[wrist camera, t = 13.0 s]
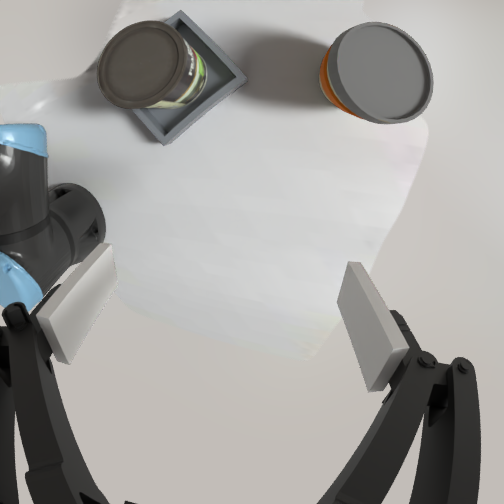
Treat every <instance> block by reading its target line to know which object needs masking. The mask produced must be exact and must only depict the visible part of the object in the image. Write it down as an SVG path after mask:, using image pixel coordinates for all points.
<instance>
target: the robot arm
mask: <svg viewBox="0 0 504 504" xmlns="http://www.w3.org/2000/svg"><path fill="white" fill-rule="evenodd" d="M47 158H48V154H47V139H46V131H45V129H44V127H43V126H41V125H40V124H4V125H0V305H2V306H3V307H4V308H5V309H4V310H3V312H2V317H3V319H4V321H5V323H6V325H7V326H2V327H1V326H0V504H19V499H18V489H17V480H16V469H15V448H14V424H15V411H16V416H17V422H18V427H19V431H20V436H21V440H22V444H23V448H24V452H25V455H26V459H27V462H28V465H29V471H28V472H26V473H25V479H26V484H27V486H28V489H29V492H30V495H31V497H32V500H33V503H34V504H109V502H108V501H107V499H106V498H105V496H104V495H103V494H102V492H101V491H100V490H99V489H98V487H97V486H96V484H95V482H94V480H93V478H92V476H91V474H90V472H89V470H88V468H87V466H86V463H85V461H84V459H83V457H82V454H81V452H80V450H79V447H78V445H77V443H76V440H75V437H74V435H73V432H72V430H71V427H70V424H69V421H68V418H67V415H66V412H65V409H64V406H63V403H62V399H61V396H60V392H59V389H58V385H57V382H56V378H55V374H54V370H53V365H52V362H51V360H50V356H51V354H52V353H53V354H54V356H55V358H56V360H57V361H58V362H62V363H65V364H68V365H70V364H71V362H72V360H73V358H74V356H75V355H76V353H77V351H78V349H79V348H80V346H81V344H82V343H83V341H84V339H85V337H86V336H87V334H88V332H89V331H90V329H91V327H92V326H93V324H94V322H95V321H96V319H97V317H98V316H99V314H100V313H101V311H102V310H103V308H104V306H105V305H106V303H107V302H108V300H109V299H110V297H111V295H112V294H113V292H114V291H115V289H116V288H117V286H118V279H117V274H116V268H115V262H114V256H113V250H112V244H108V243H103V241H104V238H105V232H106V225H105V218H104V215H103V212H102V209H101V207H100V205H99V203H98V202H97V200H96V199H95V198H94V196H93V195H92V194H91V193H90V192H89V191H87V190H86V189H85V188H83V187H81V186H79V185H76V184H63V185H60V186H58V187H56V188H54V189H53V190H51V191H50V192H49V193H48V175H47ZM80 262H82V263H81V264H80V265H79V266H78V267H77V268H76V269H75V270H74V271H73V272H72V273H71V275H70V276H69V277H68V278H67V279H66V280H65V281H64V282H63V283H62V284H58V285H57V286H55V287H54V288H53V289H51V290H50V288H51V287H52V286H53V285H54V284H55V282H56V281H57V280H58V279H59V278H60V276H62V274H63V273H64V272H65V271H66V270H67V269H68V268H69V267H70V266H72V265H74V264H77V263H80ZM49 290H50V291H49ZM48 291H49V292H48ZM47 292H48V294H47V295H46V293H47ZM45 295H46V296H45ZM44 296H45V297H44ZM43 297H44V298H43ZM42 298H43V299H42ZM41 300H42V301H41ZM40 301H41V302H40ZM38 302H40V303H39V304H38V305H37V306H36V308H35V309H34V310H33V311H32V313H31V314H30V315H29V313H28V311H30V310H31V309H32V308H33V307H34V306H35V305H36V304H37V303H38ZM337 304H338V307H339V309H340V312H341V315H342V317H343V320H344V323H345V325H346V328H347V331H348V334H349V337H350V339H351V342H352V345H353V348H354V351H355V354H356V356H357V359H358V362H359V365H360V368H361V371H362V374H363V378H364V380H365V384H366V387H367V390H368V392H376V391H383V390H384V389H385V387H386V386H387V384H388V383H389V384H390V387H391V390H390V392H389V393H388V395H387V396H386V397H385V399H384V400H383V402H382V403H383V405H382V407H381V408H380V410H379V412H378V414H377V416H376V418H375V419H374V421H373V423H372V425H371V426H370V428H369V430H368V432H367V433H366V435H365V437H364V438H363V440H362V441H361V443H360V445H359V446H358V448H357V449H356V451H355V452H354V454H353V455H352V457H351V458H350V460H349V461H348V463H347V464H346V466H345V467H344V469H343V470H342V472H341V473H340V474H339V476H338V477H337V479H336V480H335V481H334V483H333V484H332V485H331V486H330V488H329V489H328V490H327V492H326V493H325V495H323V497H322V498H321V499H320V500H319V502H318V503H317V504H381V503H382V501H383V500H384V498H385V496H386V494H387V493H388V491H389V489H390V487H391V485H392V483H393V482H394V480H395V478H396V476H397V474H398V472H399V470H400V468H401V466H402V464H403V462H404V460H405V458H406V456H407V454H408V451H409V449H410V447H411V445H412V442H413V440H414V437H415V435H416V432H417V430H418V428H419V425H420V422H421V420H422V417H423V414H424V420H423V430H422V438H421V447H420V453H419V459H418V465H417V471H416V476H415V481H414V485H413V490H412V494H411V498H410V502H409V504H477V500H478V490H479V480H480V463H481V431H480V411H479V400H478V390H477V382H476V374H475V370H474V366H473V365H472V363H471V362H470V361H468V360H467V359H465V358H463V357H457V358H455V359H454V360H453V362H452V363H451V364H450V365H448V364H442V363H438V362H437V360H436V358H435V357H434V356H433V355H432V354H430V353H429V352H426V351H422V350H421V348H420V346H419V344H418V343H417V341H416V339H415V337H414V335H413V334H412V332H411V331H410V329H409V327H408V325H407V323H406V322H405V320H404V318H403V317H402V316H401V315H400V314H399V313H398V312H397V311H396V310H389V309H388V308H387V306H386V304H385V302H384V300H383V299H382V297H381V296H380V294H379V292H378V290H377V289H376V287H375V285H374V284H373V282H372V281H371V279H370V277H369V275H368V274H367V272H366V270H365V269H364V267H363V266H362V264H361V262H348V264H347V268H346V271H345V275H344V279H343V282H342V286H341V289H340V293H339V296H338V300H337ZM124 504H135V503H132V502H128V501H125V503H124Z"/></svg>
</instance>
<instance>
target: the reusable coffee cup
mask: <svg viewBox="0 0 504 504" xmlns="http://www.w3.org/2000/svg"><path fill="white" fill-rule="evenodd" d="M319 84H320V87H321V90H322V92H323V94H324V95H325V97H326V98H327V99H328V100H329V101H330V102H331V103H333V104H334V105H336V106H337V107H338V108H339V109H341V110H343V111H344V112H347V113H349V114H351V115H354V116H356V117H358V118H361V119H365V120H367V121H369V122H373V123H377V124H396V123H403V122H408V121H410V120H413V119H415V118H416V117H418V116H419V115H420V114H421V113H422V112H423V111H424V110H425V109H426V108H427V106H428V104H429V102H430V100H431V96H432V93H433V73H432V70H431V66H430V63H429V61H428V58H427V56H426V54H425V53H424V51H423V50H422V48H421V47H420V46H419V44H418V43H417V42H416V41H415V40H414V39H413V38H412V37H410V35H408V34H407V33H406V32H404V31H403V30H401V29H399V28H397V27H395V26H393V25H390V24H387V23H381V22H367V23H363V24H360V25H357V26H355V27H352V28H350V29H348V30H346V31H345V32H343V33H342V34H341V35H340V36H338V37H337V38H336V40H335V41H334V43H333V44H332V45H331V47H330V48H329V50H328V51H327V53H326V55H325V57H324V58H323V61H322V64H321V66H320V73H319Z"/></svg>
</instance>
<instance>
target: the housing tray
mask: <svg viewBox="0 0 504 504" xmlns="http://www.w3.org/2000/svg"><path fill="white" fill-rule="evenodd" d="M164 23H166V24H168V25H170V26H172V27H173V28H174V29H176V30H177V31H178V32H179V33H180V35H181V36H182V38H183V39H184V40H185V41H186V42H187V43H188V44H189V45H190V46H191V47H192V48H193V49H194V50H195V51H196V52H197V53H198V54H199V55H200V56H201V57H202V58H203V60H204V61H205V63H206V67H207V82H206V85H205V87H204V89H203V91H202V92H201V94H200V95H199V96H198V97H197V98H196V99H195V100H194V101H193V102H191V103H190V104H188V105H186V106H184V107H181V108H177V109H164V108H140V109H131V110H132V111H133V112H134V113H135V114H136V115H137V116H138V118H139V119H140V120H141V121H142V122H143V123H144V124H145V125H146V127H147V128H148V129H149V130H150V131H151V132H152V133H153V135H154V136H155V137H156V138H157V139H158V140H159V141H160V142H161V144H162V145H163V146H165V145H168V144H170V143H172V142H173V141H174V140H175V139H176V138H178V137H179V136H180V135H181V134H182V133H183V132H184V131H185V130H187V129H188V128H189V127H190V126H191V125H192V124H194V123H195V122H196V121H197V120H198V119H200V118H201V117H202V116H203V115H204V114H206V113H207V112H208V111H209V110H210V109H212V108H213V107H214V106H215V105H217V104H218V103H219V102H221V101H222V100H223V99H224V98H226V97H227V96H228V95H230V94H231V93H232V92H234V91H235V90H236V89H238V88H239V87H240V86H242V85H243V84H245V83H246V82H247V81H248V80H247V77H246V76H245V75H244V74H243V73H242V71H241V70H240V69H239V68H238V67H237V66H236V65H235V64H234V63H233V62H232V60H231V59H230V58H229V57H228V56H227V55H226V54H225V53H224V52H223V51H222V50H221V49H220V48H219V47H218V46H217V45H216V44H215V42H214V41H213V40H212V39H211V38H210V37H209V36H208V35H207V34H206V33H205V32H204V31H203V30H202V29H201V28H200V27H199V26H198V25H196V24H195V23H194V22H193V21H192V20H191V19H190V18H189V17H188V16H187V15H186V14H185V13H184V12H183V11H182V10H180V11H179V12H177V13H176V14H175V15H173V16H172V17H171V18H169V19H168V20H167V21H166V22H164Z"/></svg>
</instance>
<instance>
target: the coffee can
mask: <svg viewBox="0 0 504 504" xmlns="http://www.w3.org/2000/svg"><path fill="white" fill-rule="evenodd" d="M97 79H98V85H99V88H100V90H101V92H102V94H103V95H104V96H105V98H106V99H107V100H108V101H110V102H111V103H112V104H114V105H116V106H118V107H121V108H126V109H140V108H164V109H177V108H181V107H184V106H186V105H188V104H190V103H191V102H193V101H194V100H195V99H196V98H197V97H198V96H199V95H200V94H201V92H202V91H203V89H204V87H205V85H206V82H207V67H206V63H205V61H204V60H203V58H202V57H201V56H200V55H199V54H198V53H197V52H196V51H195V50H194V49H193V48H192V47H191V46H190V45H189V44H188V43H187V42H186V41H185V40H184V39H183V38H182V36H181V35H180V33H179V32H178V31H177V30H176V29H174V28H173V27H172V26H170V25H168V24H166V23H163V22H160V21H142V22H138V23H135V24H132V25H130V26H128V27H126V28H124V29H123V30H121V31H120V32H118V33H117V34H116V35H115V36H114V37H113V38H112V39H111V40H110V41H109V42H108V44H107V45H106V47H105V48H104V50H103V52H102V54H101V56H100V59H99V62H98V68H97Z"/></svg>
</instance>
